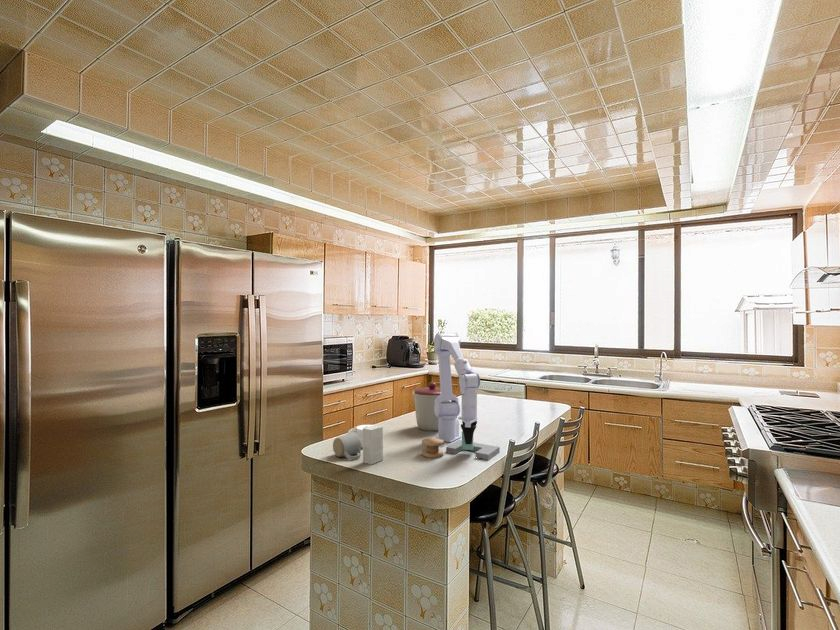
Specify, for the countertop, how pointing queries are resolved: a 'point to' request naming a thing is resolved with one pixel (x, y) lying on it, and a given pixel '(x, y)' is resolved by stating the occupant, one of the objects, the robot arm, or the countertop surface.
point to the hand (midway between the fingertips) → (468, 442)
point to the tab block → (466, 446)
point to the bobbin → (432, 447)
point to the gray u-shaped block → (475, 449)
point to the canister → (426, 406)
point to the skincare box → (372, 444)
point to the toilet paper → (359, 432)
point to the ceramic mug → (347, 446)
